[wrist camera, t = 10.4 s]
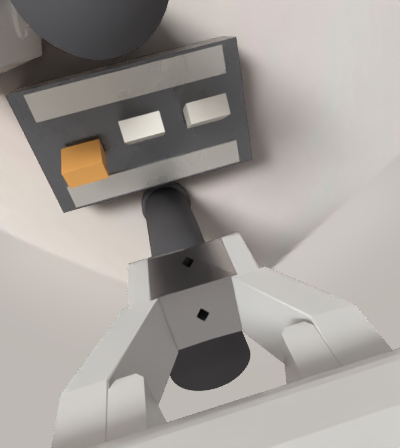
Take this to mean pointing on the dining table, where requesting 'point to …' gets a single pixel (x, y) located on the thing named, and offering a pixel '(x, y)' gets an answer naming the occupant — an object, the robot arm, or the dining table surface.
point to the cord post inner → (93, 24)
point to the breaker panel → (132, 107)
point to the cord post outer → (180, 239)
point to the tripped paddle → (84, 163)
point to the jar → (16, 39)
